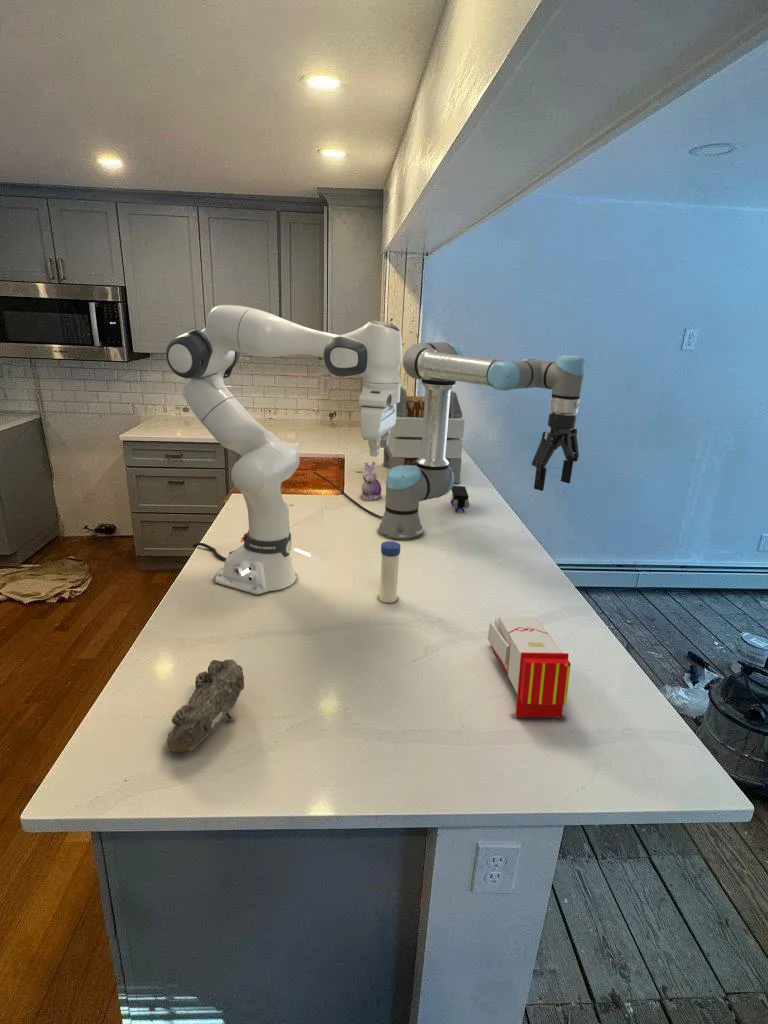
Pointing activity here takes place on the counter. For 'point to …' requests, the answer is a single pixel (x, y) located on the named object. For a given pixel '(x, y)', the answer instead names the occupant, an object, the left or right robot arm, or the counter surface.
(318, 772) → the counter surface
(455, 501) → the figurine character
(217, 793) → the counter surface
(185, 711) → the fossil
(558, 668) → the toy
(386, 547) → the lid
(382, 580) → the cream bottle
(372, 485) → the figurine
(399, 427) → the grey storage crate
